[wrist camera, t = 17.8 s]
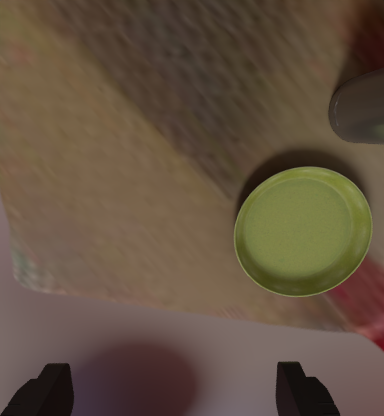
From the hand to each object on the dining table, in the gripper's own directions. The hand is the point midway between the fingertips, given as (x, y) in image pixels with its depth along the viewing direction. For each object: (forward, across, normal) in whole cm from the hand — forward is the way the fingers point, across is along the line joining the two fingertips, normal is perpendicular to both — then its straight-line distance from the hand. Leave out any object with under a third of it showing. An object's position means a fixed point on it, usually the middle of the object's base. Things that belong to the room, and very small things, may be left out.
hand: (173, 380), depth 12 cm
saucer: (+37, -17, +6) cm, 41 cm away
